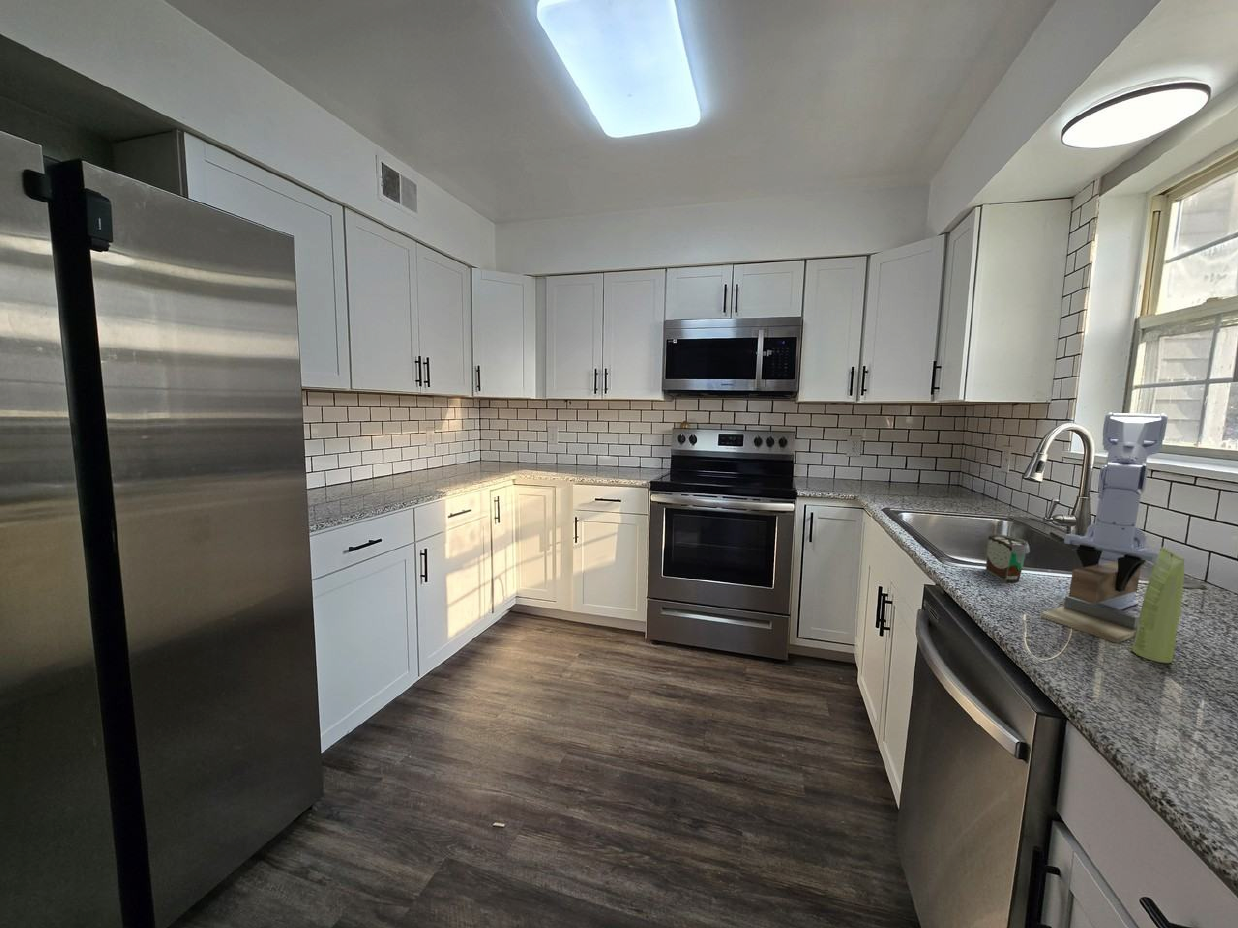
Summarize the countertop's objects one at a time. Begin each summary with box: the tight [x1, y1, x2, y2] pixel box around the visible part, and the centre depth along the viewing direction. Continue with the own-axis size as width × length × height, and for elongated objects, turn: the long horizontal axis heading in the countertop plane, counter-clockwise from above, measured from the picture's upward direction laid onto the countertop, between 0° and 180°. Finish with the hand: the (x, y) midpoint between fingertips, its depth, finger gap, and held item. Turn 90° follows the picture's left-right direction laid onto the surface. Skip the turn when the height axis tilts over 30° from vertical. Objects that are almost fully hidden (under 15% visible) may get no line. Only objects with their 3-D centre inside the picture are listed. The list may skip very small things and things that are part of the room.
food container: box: [985, 533, 1031, 583], centre depth 126 cm, size 12×6×10 cm, turn 168°
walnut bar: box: [1068, 560, 1142, 604], centre depth 100 cm, size 18×4×6 cm, turn 115°
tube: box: [1131, 546, 1185, 664], centre depth 85 cm, size 6×5×20 cm
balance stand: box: [1040, 595, 1140, 644], centre depth 101 cm, size 18×12×4 cm, turn 115°
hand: (1104, 586), depth 100 cm, fingers closed on walnut bar, 4 cm apart
